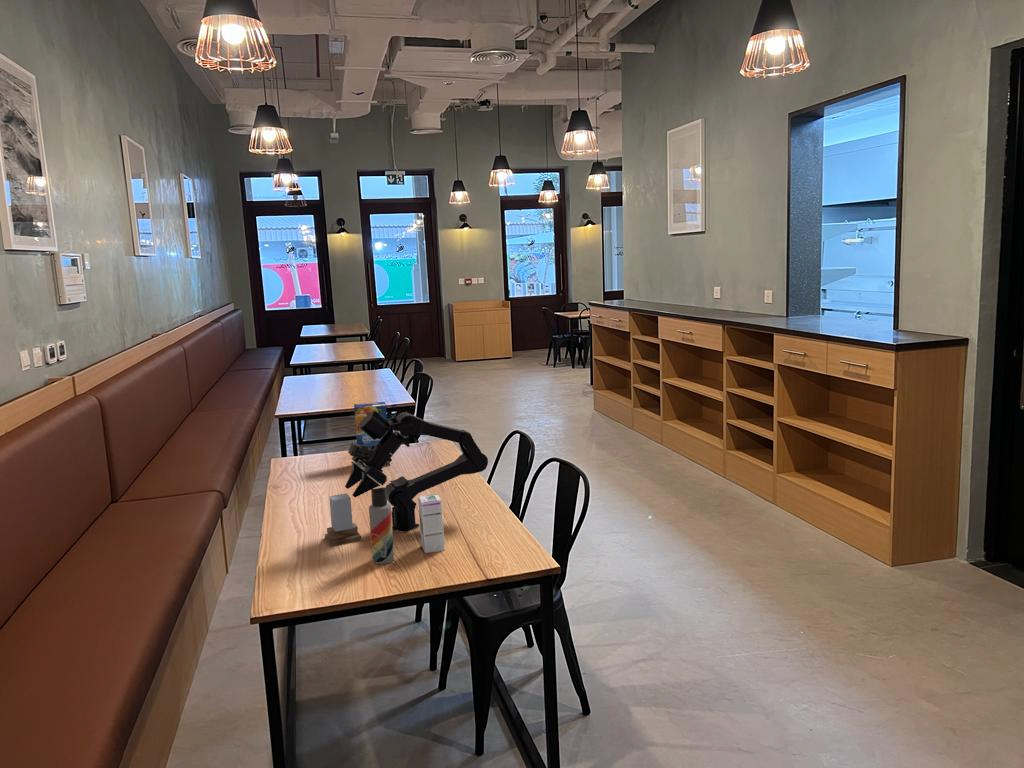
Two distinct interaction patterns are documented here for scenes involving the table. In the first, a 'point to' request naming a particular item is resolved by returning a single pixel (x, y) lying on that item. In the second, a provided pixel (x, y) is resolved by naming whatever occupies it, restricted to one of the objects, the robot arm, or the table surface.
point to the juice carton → (362, 412)
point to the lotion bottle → (381, 527)
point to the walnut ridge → (342, 536)
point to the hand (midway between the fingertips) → (349, 492)
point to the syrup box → (431, 523)
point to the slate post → (341, 512)
